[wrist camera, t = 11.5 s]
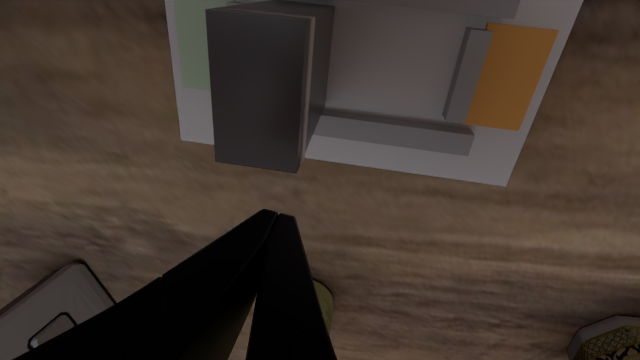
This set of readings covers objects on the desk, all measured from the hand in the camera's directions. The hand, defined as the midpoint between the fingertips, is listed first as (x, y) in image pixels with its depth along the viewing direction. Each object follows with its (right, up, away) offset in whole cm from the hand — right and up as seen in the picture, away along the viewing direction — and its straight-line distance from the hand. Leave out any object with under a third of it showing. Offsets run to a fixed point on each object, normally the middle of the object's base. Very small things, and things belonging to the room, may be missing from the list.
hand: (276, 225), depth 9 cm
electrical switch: (-20, -10, +23) cm, 32 cm away
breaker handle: (0, +8, +10) cm, 13 cm away
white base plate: (+3, +8, +10) cm, 13 cm away
